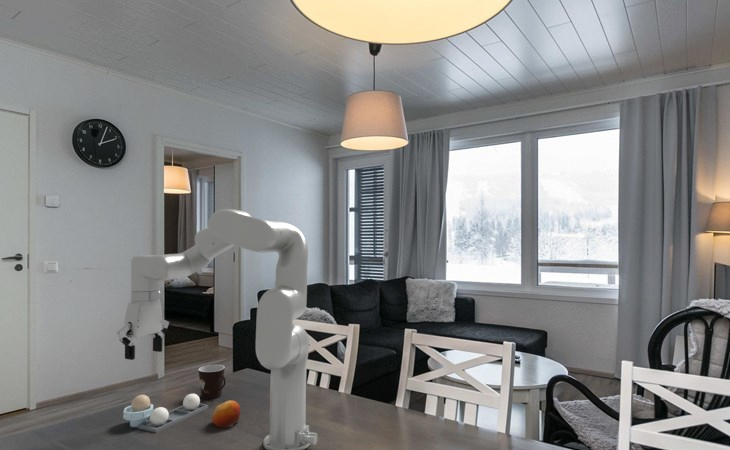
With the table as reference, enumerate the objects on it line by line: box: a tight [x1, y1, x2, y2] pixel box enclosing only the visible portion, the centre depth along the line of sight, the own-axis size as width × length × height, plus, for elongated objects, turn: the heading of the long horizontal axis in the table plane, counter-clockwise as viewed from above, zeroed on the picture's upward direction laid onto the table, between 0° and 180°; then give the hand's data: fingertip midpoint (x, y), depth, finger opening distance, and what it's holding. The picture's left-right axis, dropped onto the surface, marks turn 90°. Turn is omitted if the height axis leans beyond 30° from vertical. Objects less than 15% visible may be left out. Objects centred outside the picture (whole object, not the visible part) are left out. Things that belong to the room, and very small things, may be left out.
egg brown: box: [130, 394, 151, 412], centre depth 133 cm, size 5×5×5 cm
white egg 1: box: [149, 406, 169, 426], centre depth 132 cm, size 5×5×5 cm
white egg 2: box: [182, 393, 201, 410], centre depth 144 cm, size 5×5×5 cm
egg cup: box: [122, 403, 154, 428], centre depth 132 cm, size 8×8×5 cm
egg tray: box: [137, 402, 209, 434], centre depth 137 cm, size 7×20×1 cm, turn 157°
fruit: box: [211, 400, 241, 429], centre depth 133 cm, size 8×8×8 cm
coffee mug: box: [198, 364, 226, 400], centre depth 155 cm, size 12×9×10 cm
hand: (144, 355), depth 133 cm, fingers open, 9 cm apart
